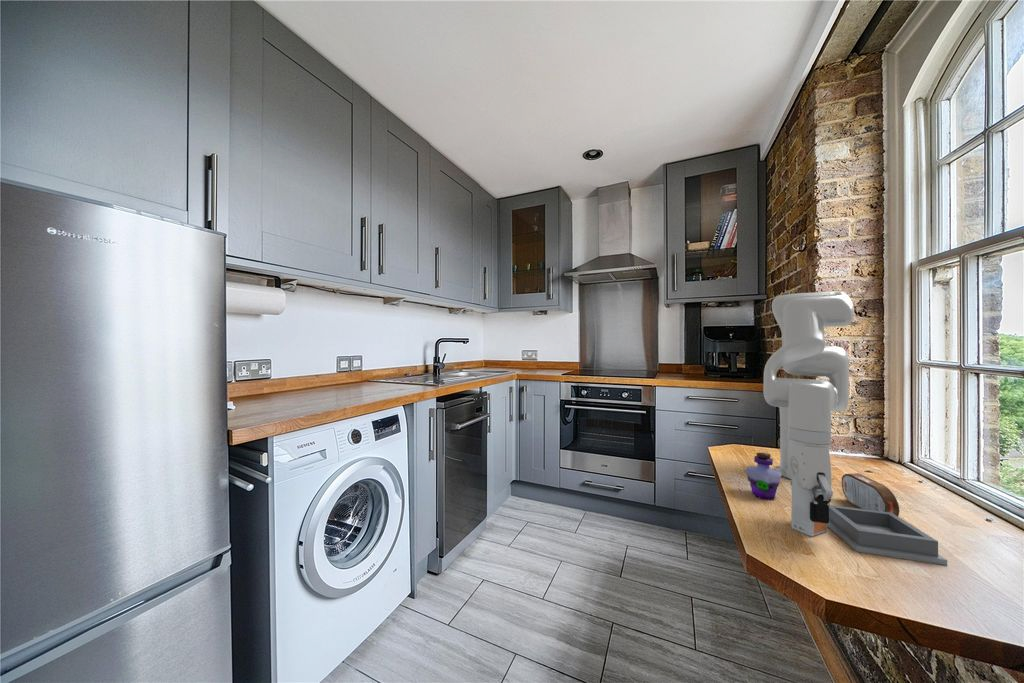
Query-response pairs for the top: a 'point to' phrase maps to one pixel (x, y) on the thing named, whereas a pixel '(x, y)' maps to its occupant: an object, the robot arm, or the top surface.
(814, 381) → the robot arm
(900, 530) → the grey square tray
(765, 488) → the potion bottle
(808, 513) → the skincare box
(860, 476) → the tin
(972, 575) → the top surface
